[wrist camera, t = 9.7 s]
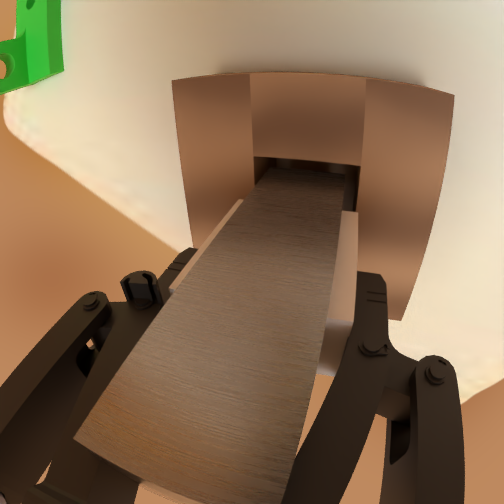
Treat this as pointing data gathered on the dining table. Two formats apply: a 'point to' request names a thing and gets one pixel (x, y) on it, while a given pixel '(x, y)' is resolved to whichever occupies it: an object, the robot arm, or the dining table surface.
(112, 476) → the robot arm
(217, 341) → the square bit
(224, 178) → the bore block
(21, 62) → the mechanical part
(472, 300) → the dining table surface
